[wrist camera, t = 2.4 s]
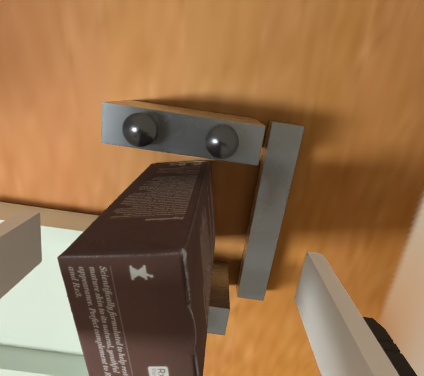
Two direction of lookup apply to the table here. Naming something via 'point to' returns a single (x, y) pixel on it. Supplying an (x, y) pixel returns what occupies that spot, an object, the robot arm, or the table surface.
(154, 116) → the hitch bracket
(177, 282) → the box
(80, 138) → the table surface
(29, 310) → the tray
